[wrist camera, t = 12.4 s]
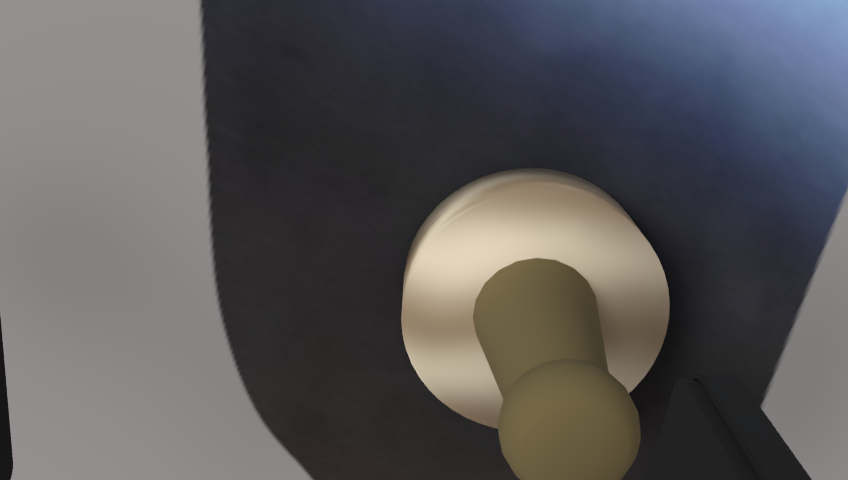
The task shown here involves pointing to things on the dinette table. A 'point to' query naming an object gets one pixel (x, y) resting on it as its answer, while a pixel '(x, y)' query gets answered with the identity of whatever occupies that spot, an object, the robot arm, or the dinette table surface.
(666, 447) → the robot arm
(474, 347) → the disc
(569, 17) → the dinette table surface
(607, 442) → the olive pawn
